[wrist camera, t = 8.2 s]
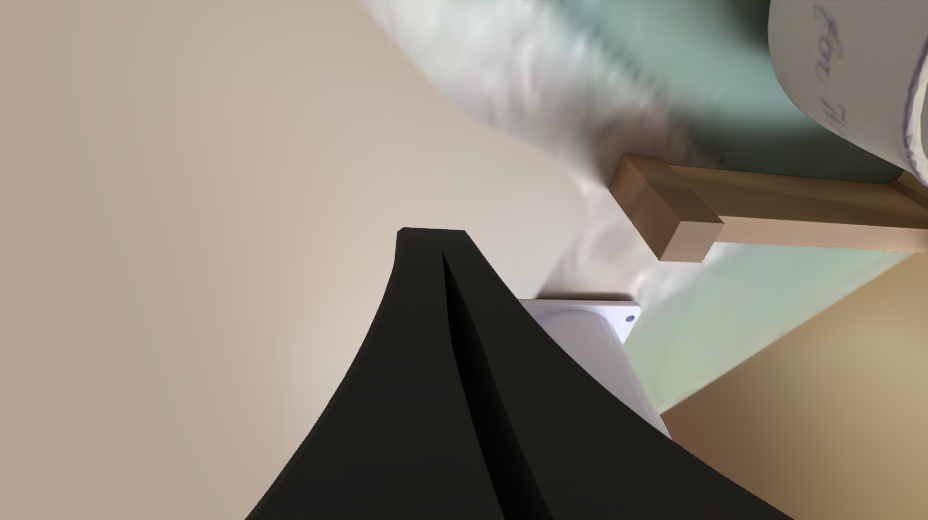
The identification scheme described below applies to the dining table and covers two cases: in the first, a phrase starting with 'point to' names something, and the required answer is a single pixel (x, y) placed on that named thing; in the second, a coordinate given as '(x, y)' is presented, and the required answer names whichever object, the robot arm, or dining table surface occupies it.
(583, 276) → the dining table surface
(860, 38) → the teacup
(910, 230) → the wooden frame
